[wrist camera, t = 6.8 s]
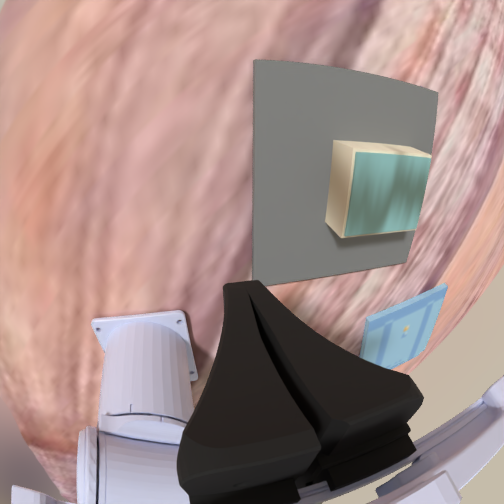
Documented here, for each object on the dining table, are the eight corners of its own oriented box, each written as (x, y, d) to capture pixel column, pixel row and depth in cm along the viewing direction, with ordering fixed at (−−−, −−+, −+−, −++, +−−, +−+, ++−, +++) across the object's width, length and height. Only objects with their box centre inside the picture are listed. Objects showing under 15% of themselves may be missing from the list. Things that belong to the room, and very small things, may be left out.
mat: (403, 259, 26) (406, 262, 25) (252, 283, 23) (253, 287, 22) (434, 91, 18) (438, 92, 17) (253, 60, 15) (255, 59, 14)
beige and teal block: (325, 221, 21) (397, 216, 22) (342, 239, 19) (417, 230, 20) (333, 140, 18) (409, 146, 19) (354, 149, 16) (433, 156, 17)
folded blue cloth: (419, 347, 38) (423, 352, 37) (352, 378, 37) (356, 385, 36) (442, 280, 31) (448, 286, 30) (364, 314, 29) (369, 322, 28)
